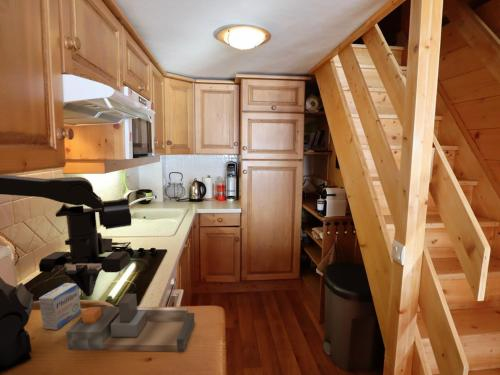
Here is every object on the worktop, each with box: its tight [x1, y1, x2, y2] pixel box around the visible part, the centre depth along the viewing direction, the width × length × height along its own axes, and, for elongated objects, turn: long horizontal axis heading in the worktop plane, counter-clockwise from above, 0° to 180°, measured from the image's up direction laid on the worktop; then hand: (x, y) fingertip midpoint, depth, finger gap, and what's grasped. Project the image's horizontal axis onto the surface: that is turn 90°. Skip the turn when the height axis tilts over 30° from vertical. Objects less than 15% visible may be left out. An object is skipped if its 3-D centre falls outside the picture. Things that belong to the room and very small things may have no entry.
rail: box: [65, 305, 196, 353], centre depth 68 cm, size 26×10×4 cm, turn 88°
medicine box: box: [38, 282, 82, 331], centre depth 74 cm, size 8×4×9 cm, turn 168°
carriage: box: [111, 293, 147, 337], centre depth 67 cm, size 6×6×8 cm
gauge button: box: [81, 306, 102, 323], centre depth 68 cm, size 3×3×4 cm
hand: (89, 295), depth 67 cm, fingers closed
